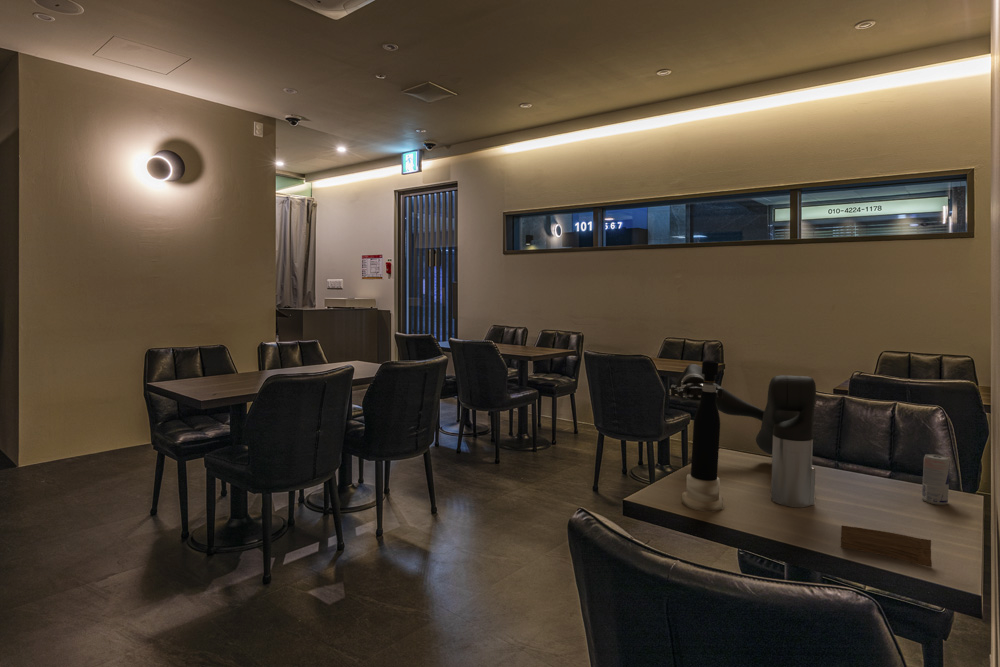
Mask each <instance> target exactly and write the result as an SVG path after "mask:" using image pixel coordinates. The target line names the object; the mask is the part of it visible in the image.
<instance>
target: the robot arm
mask: <svg viewBox="0 0 1000 667" xmlns="http://www.w3.org/2000/svg"><path fill="white" fill-rule="evenodd" d="M704 375H705V374H702V366H700V365H699V364H695V363H691V364H689V365H687V366H686V368H684V370H683V372H682V373H681V375H680V376H679V377H678V378H677V380H676V381H675V384H671V385H670V396H671V397H674V396H677V397H679V398H680V399H683V398H686V399H688V400H689V401H692V402H696V401H697V402H698V401H699V402H700V399H701V391H703V389H702V388H703V387H702V385H703V384H708V383H706V382H704ZM711 384H714V385H715V386H716V388H715V389H716V390H715V392H716V405H717V408H718V412H721V413H722V414H725V415H729V416H739V417H748V418H749V417H751V418H754V419H756V420H759V421H760V422H761V425H760V426H761V427H760V429H759V432H758V433H757V434H756V437H755V443H756V445H757V447H758V448H759V449H760V450H761V451H763V452H764V453H766V454H768V455H770V456H771V457H772V458H771V459H772V461H771V485H770V486H771V487H770V488H771V490H770V499H771V500H772V501H773V502H774V503H777V504H779V505H781V506H787V507H791V508H807V507H809V506H814V505H815V496H816V495H815V493H816V492H815V491H816V490H815V488H816V468H815V467H813V446H814V444H813V443H814V442H813V441H814V420H815V419H814V418H815V406H816V400H817V385H816V382H815V379H814V378H813V377H810V376H806V375H805V376H804V375H785V374H784V375H783V374H781V375H775V376H773V377H772V378H771V379H770V381H769V384H768V390H767V401H766V406H765V409H762V408H760V407H758V406H755V405H754V404H751V403H749V402H747V401H745V400H744V399H741V398H739V397H738V396H736V395H735V394H733V393H731V392H730V391H728V390H727V389H725V388H724V387H722V386H721V385H720V384H717V383H716V382H714V383H711Z"/></svg>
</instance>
